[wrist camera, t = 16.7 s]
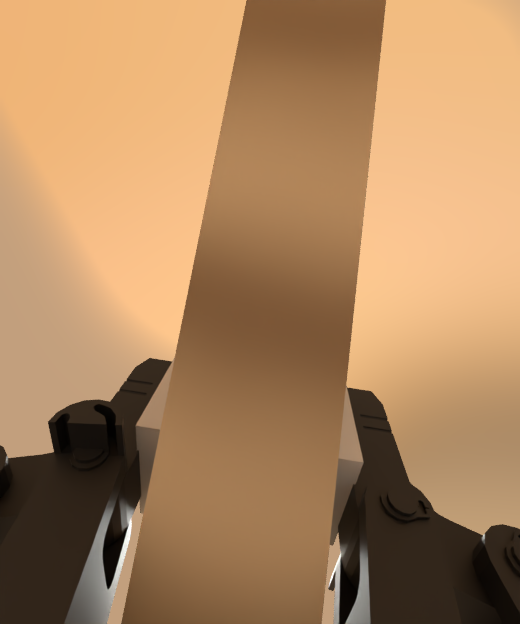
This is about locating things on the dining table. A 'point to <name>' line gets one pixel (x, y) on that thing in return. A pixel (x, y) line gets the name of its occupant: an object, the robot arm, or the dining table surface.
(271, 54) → the brown streaked block
